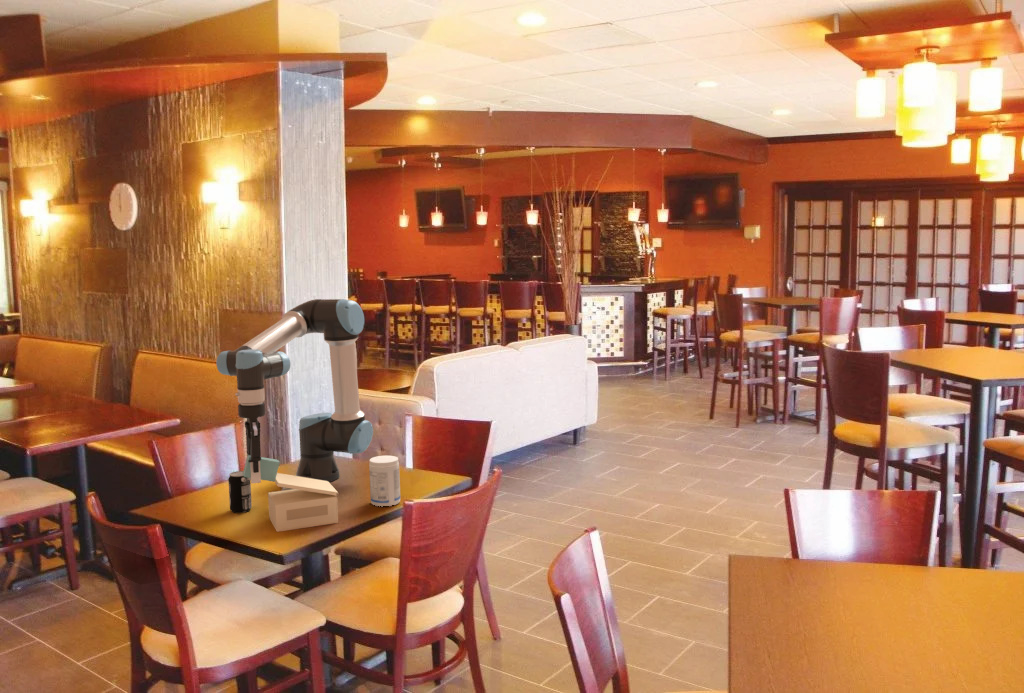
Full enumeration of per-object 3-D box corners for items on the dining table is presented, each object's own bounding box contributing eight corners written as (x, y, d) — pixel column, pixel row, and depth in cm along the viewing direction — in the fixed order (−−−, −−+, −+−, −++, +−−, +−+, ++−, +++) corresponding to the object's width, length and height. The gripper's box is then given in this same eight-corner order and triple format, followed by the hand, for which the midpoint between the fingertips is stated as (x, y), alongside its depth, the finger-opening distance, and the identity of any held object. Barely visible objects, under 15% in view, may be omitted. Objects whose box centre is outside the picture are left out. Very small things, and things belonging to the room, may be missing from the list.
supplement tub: (390, 496, 279) (389, 453, 277) (406, 503, 272) (405, 459, 270) (364, 502, 273) (363, 458, 271) (380, 509, 266) (378, 464, 264)
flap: (240, 470, 253) (245, 450, 253) (328, 484, 265) (333, 466, 265) (246, 481, 241) (251, 461, 241) (338, 495, 253) (343, 476, 253)
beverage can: (229, 508, 268) (227, 471, 267) (251, 506, 271) (249, 469, 269) (230, 514, 262) (228, 477, 261) (252, 512, 265) (250, 474, 263)
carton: (269, 517, 259) (268, 492, 258) (327, 509, 266) (326, 485, 265) (276, 531, 246) (275, 505, 245) (338, 522, 253) (337, 496, 252)
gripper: (234, 399, 252) (238, 476, 255) (241, 408, 237) (245, 489, 240) (260, 397, 255) (264, 473, 258) (268, 406, 240) (272, 486, 243)
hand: (255, 480), depth 249 cm, fingers closed on flap, 3 cm apart
